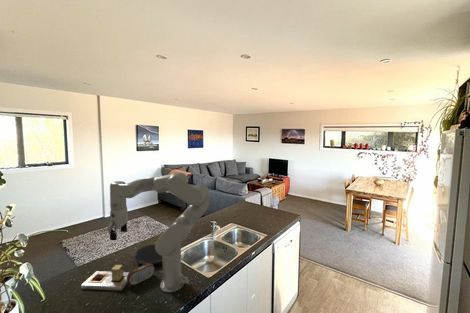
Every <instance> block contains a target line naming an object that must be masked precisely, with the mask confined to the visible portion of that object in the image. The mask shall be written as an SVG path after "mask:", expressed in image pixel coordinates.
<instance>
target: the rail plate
mask: <svg viewBox="0 0 470 313" xmlns="http://www.w3.org/2000/svg"><path fill="white" fill-rule="evenodd" d="M129 272H130V271H128V272H127V271H123V277H124V278H123V280H122V281H121V282H120V283H118V282H112V271H110V270H109V271H106V270H103V271H102V270H101V271H99V270H96V271H95V272H94V273H93V274H92V275H90V277H88V278H87V279H86V280H85V281H84V282H83V283H82V284H80V288H81V290H82V289H83V290H105V291H123V290H124V288H125V287H126V285H127V284H129V283H128V282H127V275H128V274H129ZM97 279H101V280H100V281H99V280H97Z"/></svg>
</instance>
